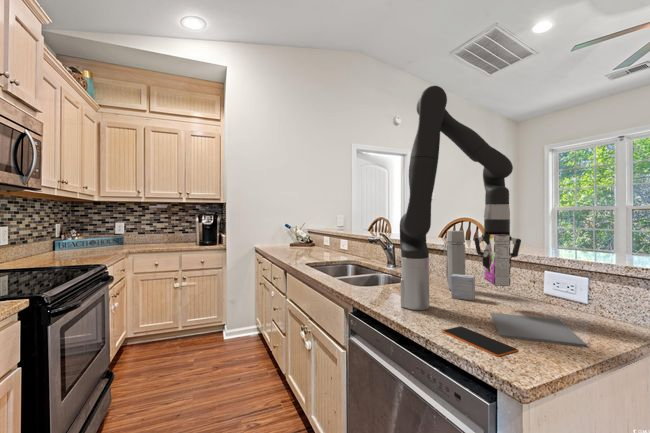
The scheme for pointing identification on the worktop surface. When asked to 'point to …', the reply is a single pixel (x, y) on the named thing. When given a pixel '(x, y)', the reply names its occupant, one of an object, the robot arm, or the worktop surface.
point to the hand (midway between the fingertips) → (496, 268)
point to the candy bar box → (498, 260)
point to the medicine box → (463, 287)
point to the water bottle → (454, 255)
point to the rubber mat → (535, 329)
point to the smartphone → (480, 341)
